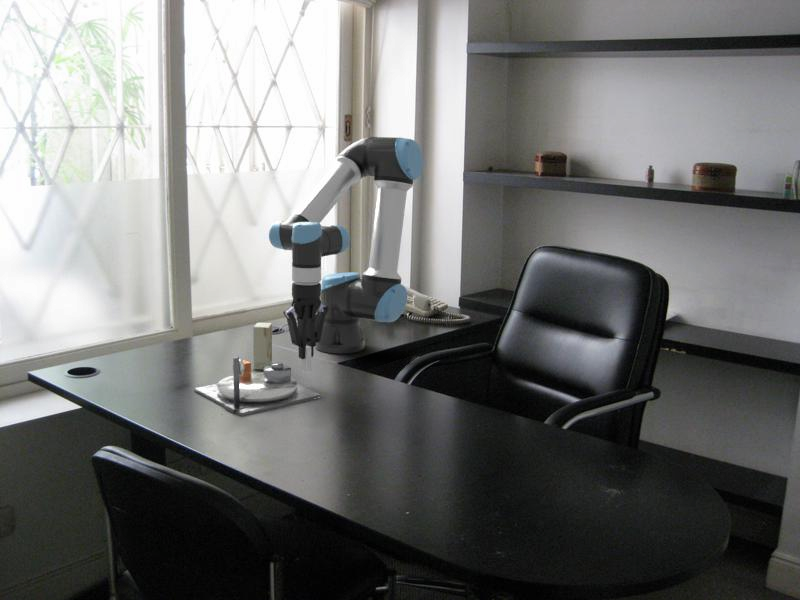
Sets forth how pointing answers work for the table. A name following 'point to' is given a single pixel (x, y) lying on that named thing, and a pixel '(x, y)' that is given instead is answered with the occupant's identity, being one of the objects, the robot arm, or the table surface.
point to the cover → (277, 373)
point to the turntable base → (255, 407)
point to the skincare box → (262, 345)
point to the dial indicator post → (236, 385)
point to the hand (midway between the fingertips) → (305, 369)
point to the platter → (255, 387)
